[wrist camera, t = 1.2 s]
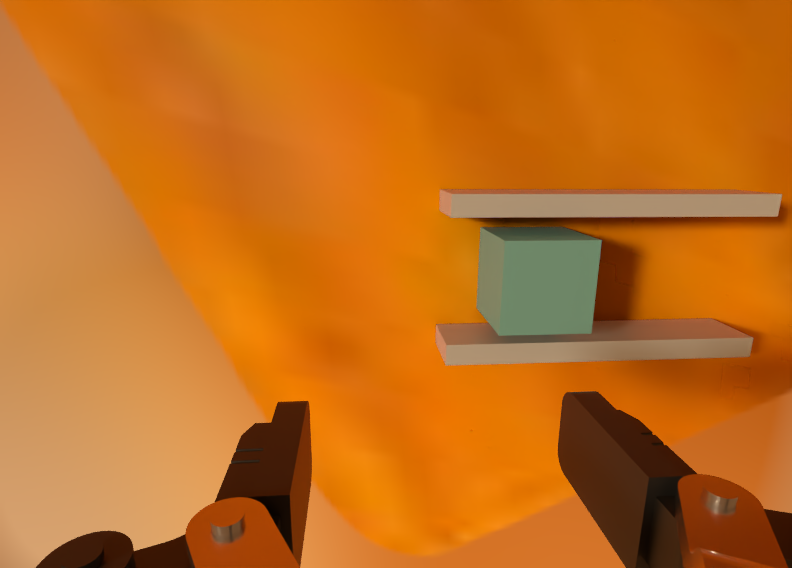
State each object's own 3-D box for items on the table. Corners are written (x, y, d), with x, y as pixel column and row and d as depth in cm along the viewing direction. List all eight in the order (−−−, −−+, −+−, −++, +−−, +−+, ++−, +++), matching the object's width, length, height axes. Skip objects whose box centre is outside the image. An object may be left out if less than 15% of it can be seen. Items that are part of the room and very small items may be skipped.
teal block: (480, 226, 29) (504, 240, 25) (561, 226, 30) (601, 240, 25) (476, 307, 31) (498, 335, 26) (554, 305, 31) (591, 333, 26)
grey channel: (440, 189, 29) (451, 194, 25) (734, 189, 30) (782, 194, 27) (435, 342, 31) (445, 365, 28) (708, 335, 32) (749, 356, 29)
